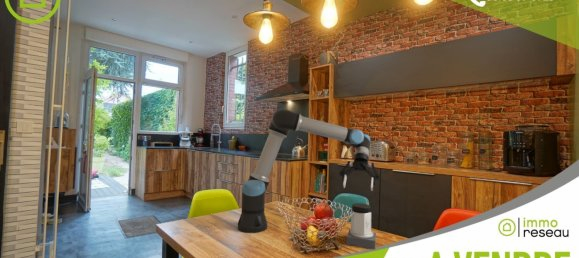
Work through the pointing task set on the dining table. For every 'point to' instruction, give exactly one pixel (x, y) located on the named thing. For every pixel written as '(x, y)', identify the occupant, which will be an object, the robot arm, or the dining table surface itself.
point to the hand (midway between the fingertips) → (357, 187)
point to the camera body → (361, 240)
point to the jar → (361, 219)
